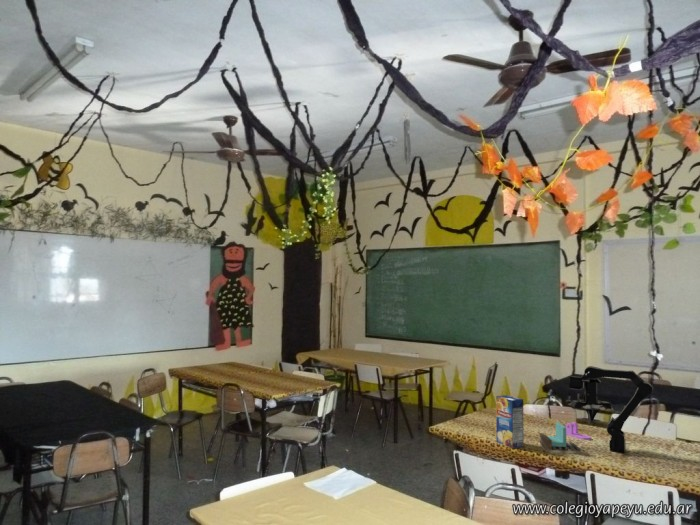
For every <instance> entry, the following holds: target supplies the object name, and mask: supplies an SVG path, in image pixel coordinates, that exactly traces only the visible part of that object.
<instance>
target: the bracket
mask: <svg viewBox="0 0 700 525" xmlns="http://www.w3.org/2000/svg"><path fill="white" fill-rule="evenodd" d="M578 425H579V424H577V422H575V421H572V422H568V423H565V427H566V436H568V437H571V436H572V437H571V438H575V437H576V438H575V439H580V440H582V439H584V440H583V441H591V440H592V437H591V436H590V435H587V434H583V433H579V430H578V428H579V427H578Z"/></svg>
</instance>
